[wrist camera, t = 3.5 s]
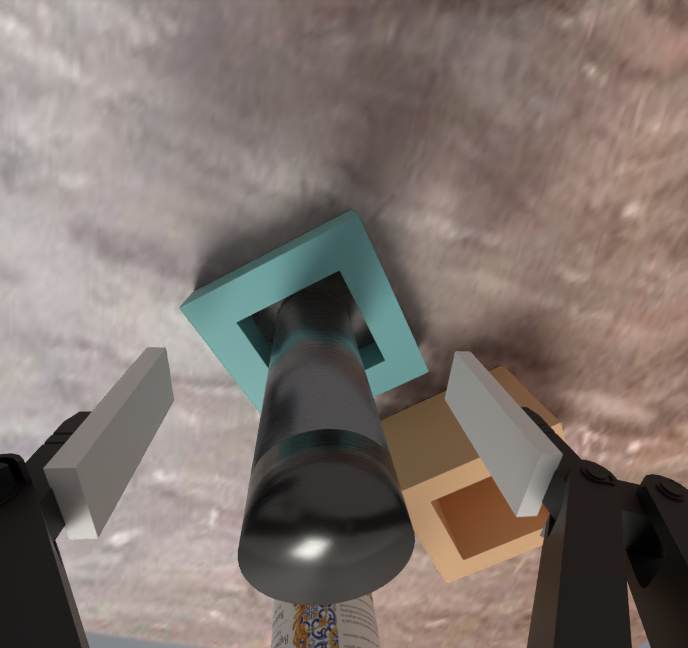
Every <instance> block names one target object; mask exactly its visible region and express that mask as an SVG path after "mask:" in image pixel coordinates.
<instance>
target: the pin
mask: <svg viewBox="0 0 688 648" xmlns="http://www.w3.org/2000/svg"><path fill="white" fill-rule="evenodd" d="M414 543H415V535H414V530H413V526H412V523H411V520H410V516H409V513H408V510H407V507H406V503H405V500H404V497H403V493H402V490H401V487H400V484H399V480H398V477H397V474H396V470H395V467H394V464H393V461H392V457H391V454H390V451H389V447H388V444H387V441H386V438H385V434H384V431H383V428H382V424H381V421H380V418H379V415H378V411H377V408H376V405H375V401H374V398H373V395H372V392H371V388H370V385H369V382H368V378H367V375H366V372H365V369H364V365H363V362H362V359H361V355H360V352H359V349H358V346H357V342H356V339H355V336H354V332H353V329H352V326H351V323H350V319H349V316H348V313H347V310H346V308H345V306H344V305H343V303H342V302H341V301H340V300H339V299H338V298H337V297H335V296H334V295H332V294H330V293H328V292H326V291H322V290H315V289H313V290H304V291H301V292H298V293H296V294H294V295H292V296H291V297H290V298H288V299H287V300H286V301H285V302H284V304H283V305H282V306H281V308H280V310H279V313H278V316H277V322H276V328H275V334H274V340H273V345H272V351H271V357H270V363H269V369H268V375H267V381H266V387H265V393H264V399H263V405H262V411H261V417H260V423H259V429H258V435H257V441H256V447H255V453H254V459H253V465H252V471H251V477H250V483H249V489H248V494H247V500H246V506H245V512H244V518H243V524H242V530H241V536H240V542H239V548H238V563H239V567H240V569H241V572H242V574H243V575H244V577H245V579H246V580H247V581H248V582H249V583H250V584H251V585H252V586H253V587H254V588H256V589H257V590H258V591H260V592H261V593H263V594H265V595H267V596H269V597H271V598H274V599H276V600H280V601H283V602H287V603H292V604H299V605H329V604H336V603H341V602H346V601H350V600H353V599H356V598H359V597H362V596H365V595H367V594H369V593H371V592H374V591H375V590H377V589H379V588H381V587H382V586H384V585H385V584H387V583H388V582H390V581H391V580H392V579H393V578H394V577H396V576H397V575H398V574H399V573H400V572H401V571H402V569H403V568H404V567H405V565H406V564H407V563H408V561H409V559H410V557H411V555H412V552H413V549H414Z"/></svg>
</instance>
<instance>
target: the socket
mask: <svg viewBox="0 0 688 648" xmlns="http://www.w3.org/2000/svg"><path fill="white" fill-rule="evenodd" d="M488 372H489V373H490V374H491V375H492V376H493V377H494V378H495V379H496V380H497V382H498V383H499V384H500V385H501V386H502V387H503V388H504V389H505V390H506V392H507V393H508V394H509V395H510V396H511V397H512V398H513V399H514V400H515V402H516V403H517V404H518V405H519V406H520V407H528V408H529V409H531V410H532V411H534V412H535V413H537V414H538V415H540V416H541V417H542V418H543V420H544V421H545V422H546V423H547V424H548V426H550V427H551V428H552V429H553V430H554V431H555V434H558V435H559V436H560V437H561V439H562V440H563V441H564V442H565V443H566V441H565V437H564V433H563V430H562V426H561V422H560V421H559V420H558V419H557V418H556V417H555V416H554V415H553V414H552V413H551V412H550V411H549V410H548V409H547V408H546V407H545V406H544V405H543V404H542V403H541V402H540V401H539V400H538V399H537V398H536V397H535V396H534V395H533V394H532V393H531V392H530V391H529V390H528V389H527V388H526V387H525V386H524V385H523V384H522V383H521V382H520V381H518V380H517V379H516V378H515V377H514V376H513V375H512V374H511V373H510V372H509V371H508V370H507V369H506V368H505V367H504V366H503V365H501V366H499V367H497V368H495V369H492V370H490V371H488ZM445 394H446V391H444V392H442V393H440V394H438V395H435V396H433V397H431V398H429V399H427V400H424V401H422V402H420V403H418V404H416V405H413V406H411V407H409V408H407V409H405V410H402V411H400V412H398V413H396V414H394V415H391V416H389V417H387V418H385V419H383V420H380V421H381V424H382V428H383V431H384V434H385V438H386V441H387V444H388V447H389V451H390V454H391V457H392V461H393V464H394V467H395V470H396V474H397V477H398V480H399V484H400V487H401V490H402V493H403V497H404V500H405V503H406V507H407V510H408V513H409V516H410V520H411V523H412V526H413V530H414V532H415V534H416V535H417V537H418V538H419V540H420V542H421V543H422V545H423V546H424V548H425V550H426V551H427V553H428V554H429V556H430V557H431V559H432V561H433V562H434V564H435V565H436V567H437V569H438V570H439V572H440V573H441V575H442V576H443V578H444V580H445V581H446V583H449V582H452V581H454V580H457V579H459V578H462V577H464V576H467V575H469V574H472V573H474V572H477V571H479V570H482V569H484V568H487V567H489V566H492V565H494V564H497V563H499V562H502V561H504V560H507V559H509V558H512V557H514V556H517V555H519V554H522V553H524V552H527V551H529V550H532V549H534V548H537V547H539V546H542V545H543V540H544V537H541V536H540V534H541V532H542V529H543V527H544V525H545V523H546V520H547V518H548V516H549V514H550V513H549V511H548V510H547V508H546V507H545V506H544V504H543V503H542V505H541V508H540V510H539V512H538V515H537V516H525V517H516V516H515V514H514V513H513V511H512V509H511V508H510V506H509V504H508V503H507V501H506V499H505V498H504V496H503V494H502V493H501V491H500V490H499V488H498V486H497V485H496V483H495V481H494V480H493V478H492V476H491V475H490V473H489V471H488V470H487V468H486V466H485V465H484V463H483V461H482V460H481V458H480V457H479V455H478V453H477V452H476V450H475V448H474V447H473V445H472V443H471V442H470V440H469V438H468V437H467V435H466V433H465V432H464V430H463V429H462V427H461V425H460V424H459V422H458V420H457V419H456V417H455V415H454V414H453V412H452V410H451V409H450V407H449V405H448V404H447V402H446V401H445Z"/></svg>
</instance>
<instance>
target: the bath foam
mask: <svg viewBox="0 0 688 648" xmlns="http://www.w3.org/2000/svg"><path fill="white" fill-rule="evenodd" d="M271 648H380V642H379V636H378V629H377V623H376V617H375V611H374V605H373V598H372V592H371V593H369V594H367V595H365V596H362V597H359V598H356V599H353V600H350V601H346V602H341V603H336V604H329V605H299V604H292V603H287V602H283V601H280V600H276V599H274V611H273V626H272V641H271Z"/></svg>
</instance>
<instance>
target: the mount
mask: <svg viewBox="0 0 688 648" xmlns="http://www.w3.org/2000/svg"><path fill="white" fill-rule="evenodd" d="M339 270H340V272H341V274H342V276H343V278H344V280H345V282H346V284H347V286H348V288H349V290H350V292H351V294H352V296H353V298H354V300H355V302H356V304H357V306H358V308H359V310H360V312H361V314H362V316H363V318H364V320H365V322H366V324H367V325H368V327H369V329H370V331H371V333H372V335H373V337H374V339H375V341H376V342H374V343H372V344H369V345H367V346H365V347H363V348H361V349H359V352H360V355H361V359H362V362H363V365H364V369H365V372H366V375H367V378H368V382H369V385H370V388H371V392H372V395H373V397H376V396H378V395H380V394H382V393H384V392H386V391H388V390H391V389H393V388H395V387H397V386H399V385H401V384H404V383H406V382H408V381H410V380H412V379H414V378H417V377H419V376H421V375H423V374H425V373H427V372H429V371H428V369H427V366H426V364H425V362H424V360H423V357H422V355H421V353H420V351H419V348H418V346H417V344H416V342H415V340H414V337H413V335H412V333H411V331H410V328H409V326H408V324H407V322H406V319H405V317H404V315H403V313H402V311H401V308H400V306H399V304H398V302H397V299H396V297H395V295H394V293H393V290H392V288H391V286H390V284H389V282H388V279H387V277H386V275H385V273H384V270H383V268H382V266H381V264H380V261H379V259H378V257H377V255H376V253H375V250H374V248H373V246H372V244H371V241H370V239H369V237H368V235H367V232H366V230H365V228H364V226H363V224H362V221H361V219H360V217H359V215H358V214H357V213H356V212H355V211H354V210H353V209H351V210H349V211H347V212H345V213H343V214H341V215H339V216H337V217H336V218H334V219H332V220H330V221H328V222H326V223H324V224H322V225H320V226H318V227H316V228H314V229H313V230H311V231H309V232H307V233H305V234H303V235H301V236H299V237H297V238H295V239H293V240H291V241H290V242H288V243H286V244H284V245H282V246H280V247H278V248H276V249H274V250H272V251H270V252H268V253H266V254H265V255H263V256H261V257H259V258H257V259H255V260H253V261H251V262H249V263H247V264H245V265H243V266H242V267H240V268H238V269H236V270H234V271H232V272H230V273H228V274H226V275H224V276H222V277H220V278H219V279H217V280H215V281H213V282H211V283H209V284H207V285H205V286H203V287H201V288H199V289H197V290H196V291H194V292H193V293H192V294H191V295H190V296H189V297H188V298H187V300H186V301H185V302H184V303H183V304H182V305H181V306H180V310H181V311H182V312H183V314H184V315H185V316H186V317H187V319H188V320H189V321H190V323H191V324H192V325H193V327H194V328H195V329H196V331H197V332H198V333H199V334H200V336H201V337H202V338H203V340H204V341H205V342H206V344H207V345H208V346H209V347H210V349H211V350H212V351H213V353H214V354H215V355H216V357H217V358H218V359H219V361H220V362H221V363H222V364H223V366H224V367H225V368H226V370H227V371H228V372H229V374H230V375H231V376H232V377H233V379H234V380H235V381H236V383H237V384H238V385H239V387H240V388H241V389H242V391H243V392H244V393H245V394H246V396H247V397H248V398H249V400H250V401H251V402H252V404H253V405H254V406H255V407H256V409H257V410H258V411H259V413H260V414H261V411H262V405H263V399H264V393H265V387H266V381H267V375H268V369H269V363H270V357H271V351H272V347H271V345H270V344H269V342H268V341H267V339H266V338H265V336H264V335H263V333H262V332H261V330H260V329H259V327H258V326H257V324H256V323H255V321H254V320H253V318H252V317H251V315H252V314H254V313H256V312H258V311H260V310H262V309H264V308H266V307H268V306H270V305H272V304H274V303H276V302H278V301H280V300H282V299H284V298H286V297H288V296H290V295H292V294H294V293H296V292H298V291H300V290H302V289H304V288H306V287H308V286H309V285H311V284H313V283H315V282H317V281H319V280H321V279H323V278H325V277H327V276H329V275H331V274H333V273H335V272H337V271H339Z"/></svg>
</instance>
